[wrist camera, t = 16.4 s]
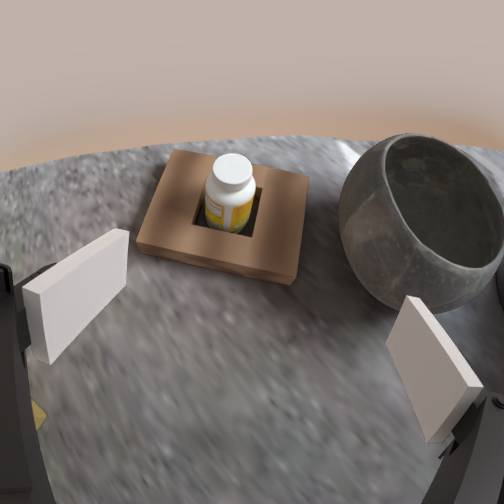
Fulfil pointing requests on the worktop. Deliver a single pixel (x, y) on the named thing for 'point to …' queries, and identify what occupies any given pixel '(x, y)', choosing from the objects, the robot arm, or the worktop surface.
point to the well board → (219, 242)
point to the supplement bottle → (229, 193)
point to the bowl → (420, 223)
